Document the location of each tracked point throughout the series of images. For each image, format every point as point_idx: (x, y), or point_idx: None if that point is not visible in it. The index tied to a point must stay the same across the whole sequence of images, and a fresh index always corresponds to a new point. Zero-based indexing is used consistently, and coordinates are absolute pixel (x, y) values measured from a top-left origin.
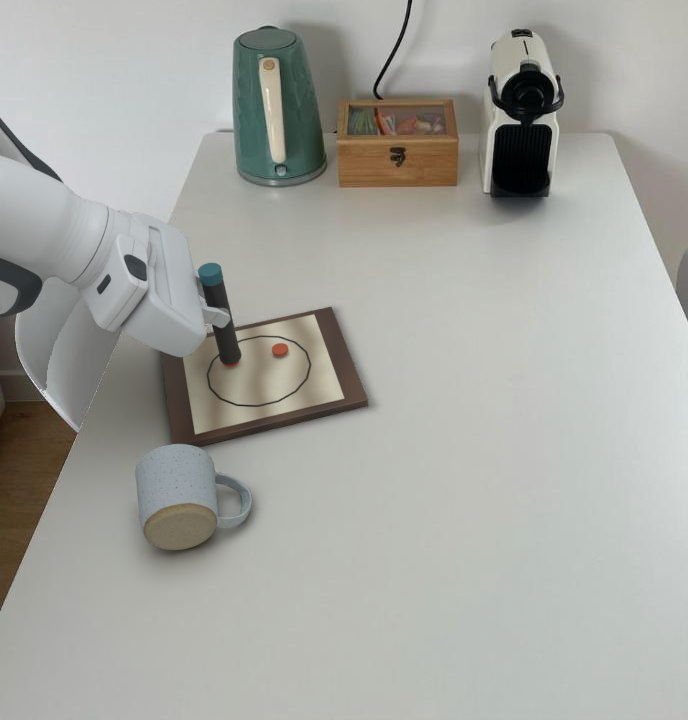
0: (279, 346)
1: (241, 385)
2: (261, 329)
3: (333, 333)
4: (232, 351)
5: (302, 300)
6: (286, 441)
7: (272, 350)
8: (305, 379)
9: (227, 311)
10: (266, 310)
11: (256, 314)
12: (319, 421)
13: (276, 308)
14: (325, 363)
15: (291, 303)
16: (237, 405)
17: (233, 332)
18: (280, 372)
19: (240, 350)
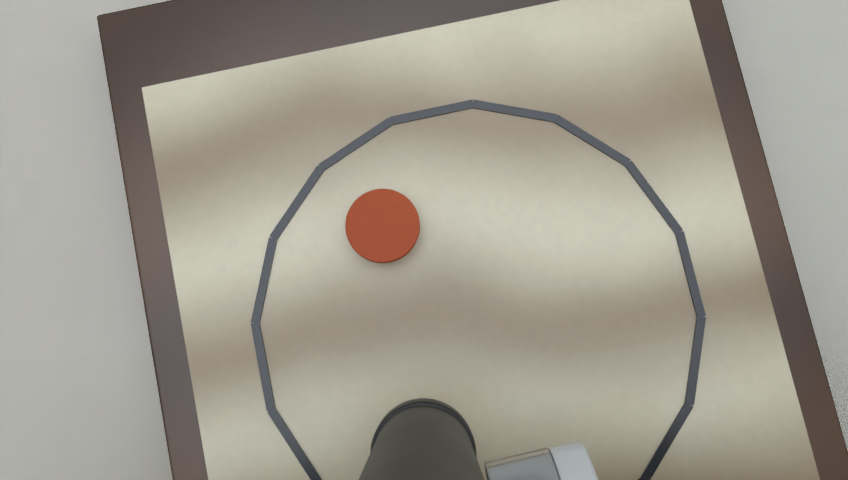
0: (367, 227)
1: (570, 392)
2: (207, 320)
3: (283, 9)
4: (468, 437)
5: (4, 153)
6: (841, 207)
7: (390, 258)
8: (563, 122)
9: (519, 468)
10: (44, 311)
11: (63, 355)
12: (746, 87)
13: (38, 266)
14: (470, 44)
15: (16, 201)
16: (691, 402)
17: (446, 431)
18: (504, 227)
19: (413, 402)
